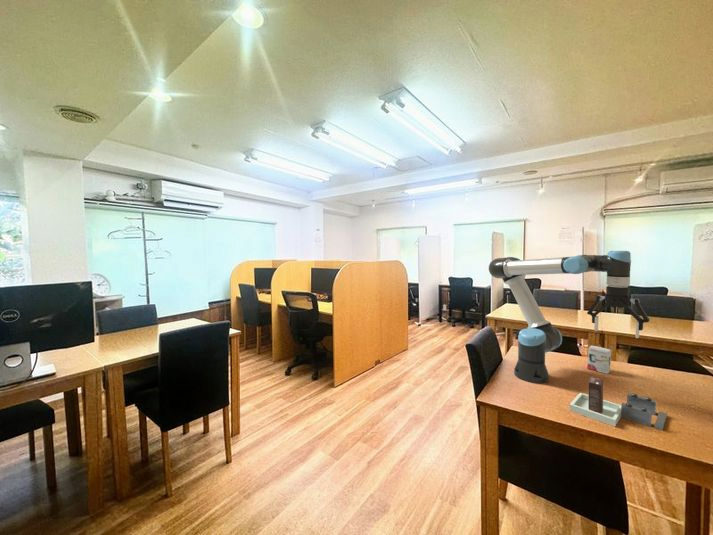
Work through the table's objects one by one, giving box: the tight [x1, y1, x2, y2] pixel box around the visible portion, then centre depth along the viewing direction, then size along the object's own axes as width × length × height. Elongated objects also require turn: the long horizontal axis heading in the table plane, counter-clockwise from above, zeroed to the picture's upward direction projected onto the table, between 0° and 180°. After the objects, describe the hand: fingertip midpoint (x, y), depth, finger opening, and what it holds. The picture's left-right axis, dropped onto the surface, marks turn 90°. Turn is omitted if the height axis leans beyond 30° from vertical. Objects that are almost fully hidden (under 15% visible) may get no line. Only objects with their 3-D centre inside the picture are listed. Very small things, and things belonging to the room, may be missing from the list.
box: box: [587, 376, 604, 414], centre depth 114 cm, size 6×4×12 cm
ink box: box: [587, 345, 612, 374], centre depth 150 cm, size 9×5×12 cm, turn 37°
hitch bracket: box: [620, 392, 668, 431], centre depth 110 cm, size 11×13×6 cm
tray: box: [568, 392, 622, 427], centre depth 115 cm, size 14×14×3 cm
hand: (615, 333), depth 127 cm, fingers open, 13 cm apart
